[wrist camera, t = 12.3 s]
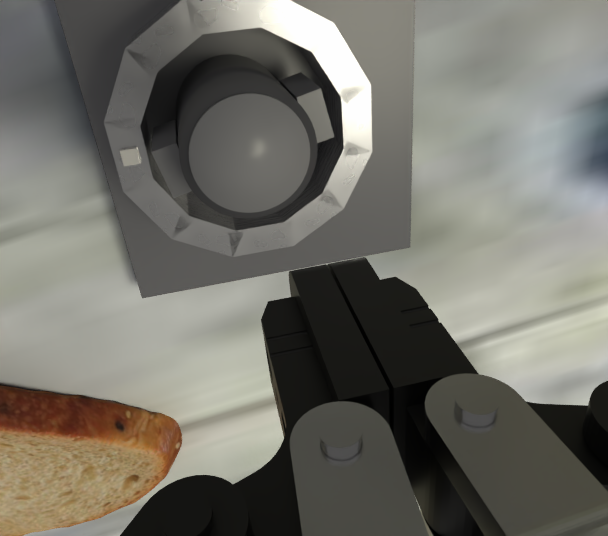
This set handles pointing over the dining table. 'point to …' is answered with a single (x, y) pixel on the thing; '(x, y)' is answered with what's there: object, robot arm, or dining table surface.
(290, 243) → the grey thick ring
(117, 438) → the slice of bread
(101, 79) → the camera plate
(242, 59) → the domed grey cylinder
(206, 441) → the dining table surface
